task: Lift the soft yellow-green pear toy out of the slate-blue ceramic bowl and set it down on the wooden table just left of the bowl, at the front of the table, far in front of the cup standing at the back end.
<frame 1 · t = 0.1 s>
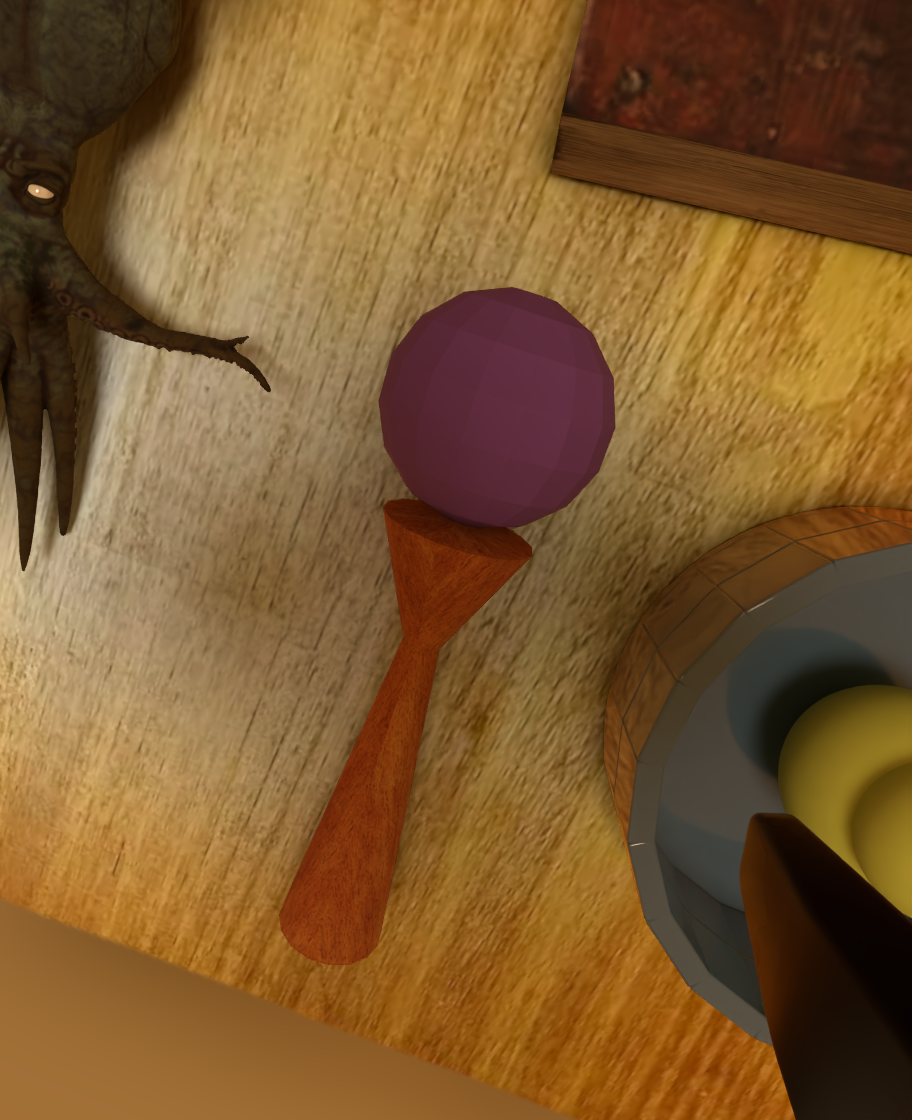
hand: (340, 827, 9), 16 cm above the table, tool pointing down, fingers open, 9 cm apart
pear toy: (843, 741, 24), point 1 cm above the table, touching bowl
figurine: (69, 274, 23), on the table, touching toy
bowl: (834, 733, 25), on the table
kendama: (427, 624, 25), on the table
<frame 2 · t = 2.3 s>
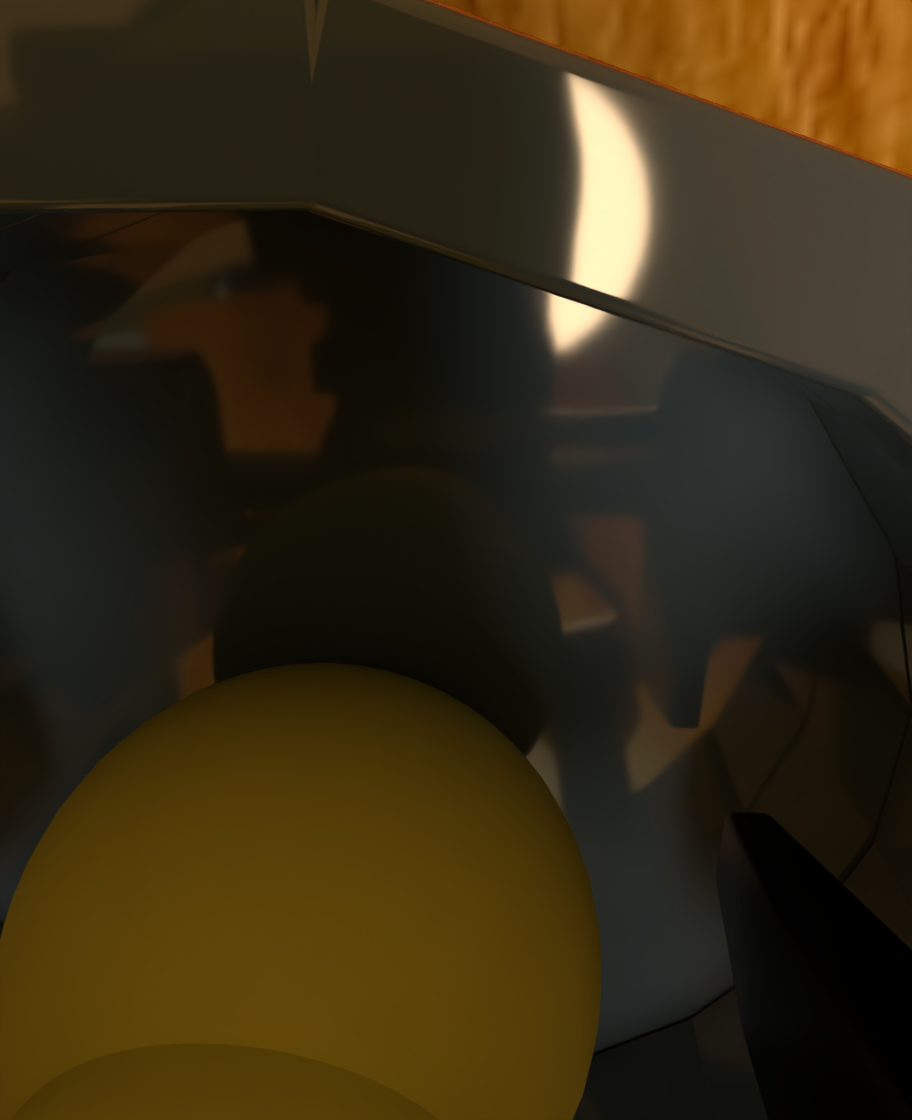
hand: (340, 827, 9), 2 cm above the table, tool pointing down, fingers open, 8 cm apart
pear toy: (362, 759, 10), point 1 cm above the table, touching bowl
bowl: (370, 729, 10), on the table
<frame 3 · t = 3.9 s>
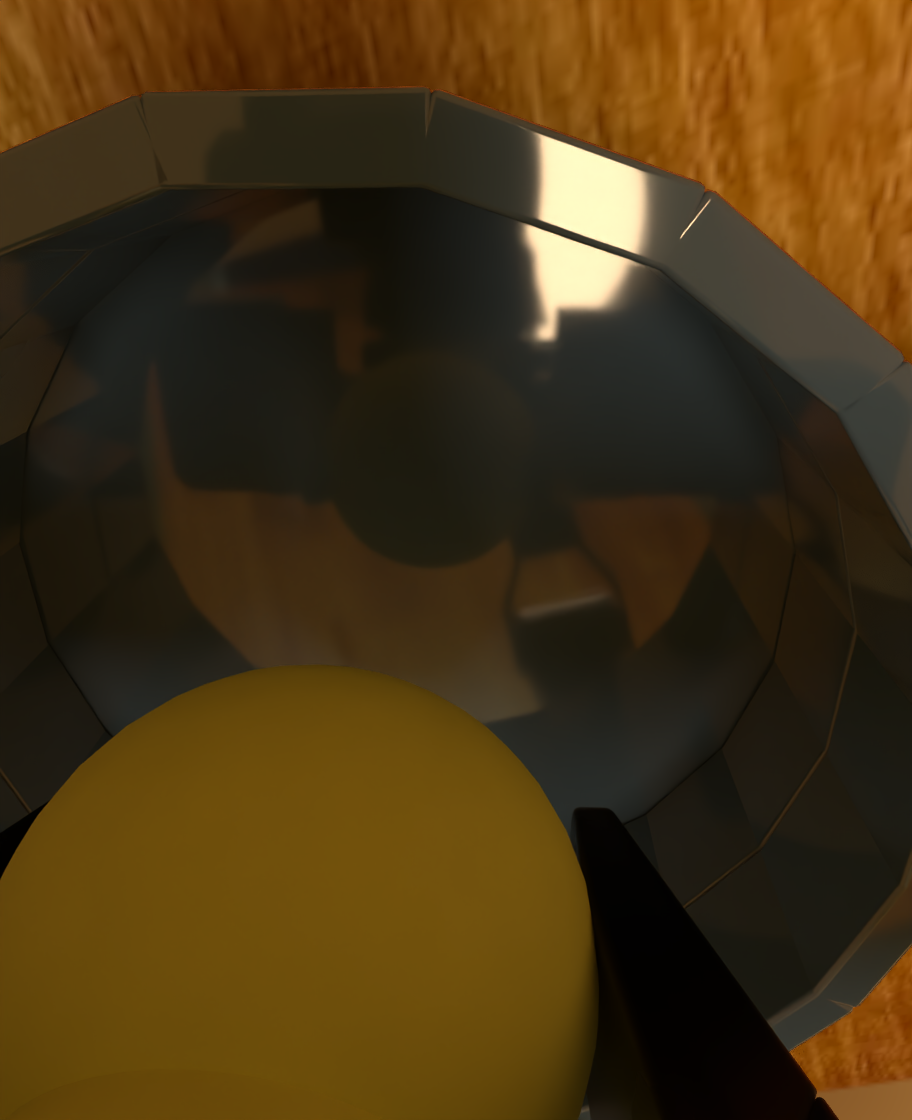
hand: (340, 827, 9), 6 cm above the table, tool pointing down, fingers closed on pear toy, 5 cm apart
pear toy: (355, 762, 10), point 5 cm above the table, touching gripper
bowl: (404, 583, 14), on the table
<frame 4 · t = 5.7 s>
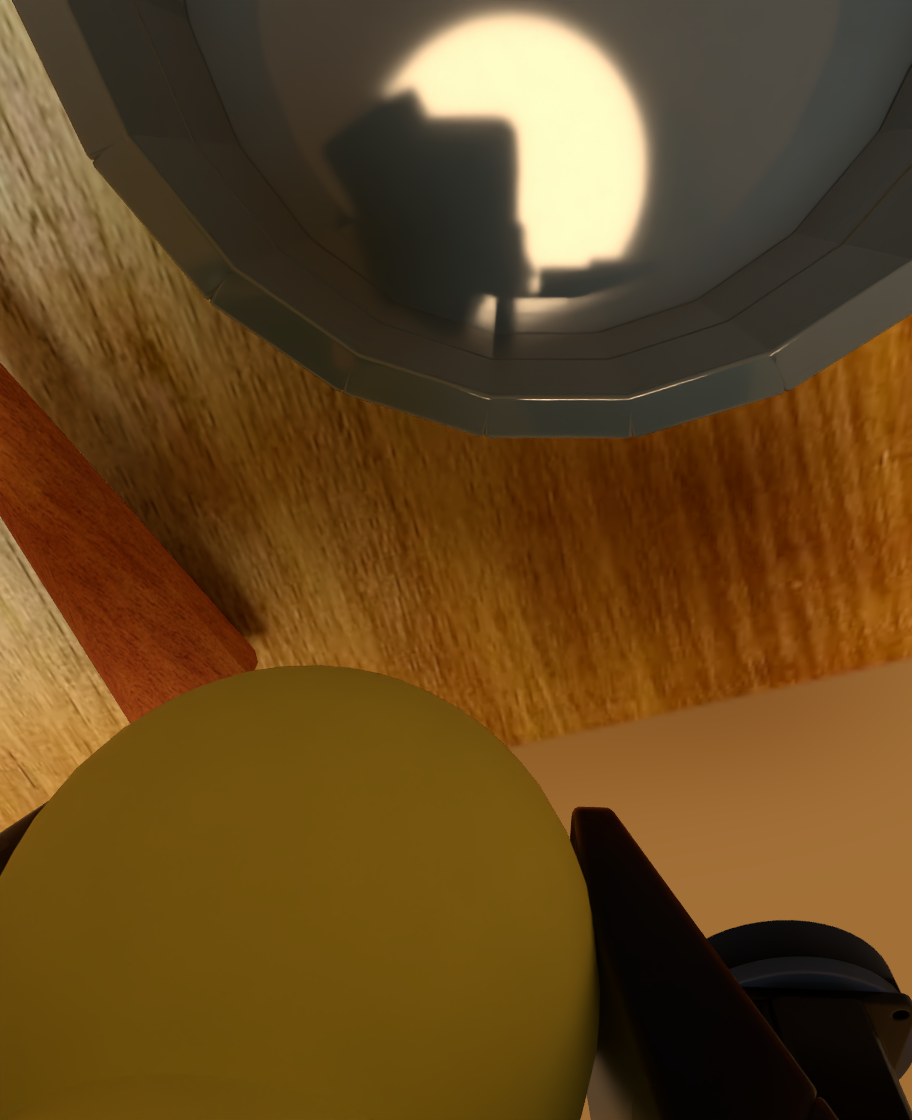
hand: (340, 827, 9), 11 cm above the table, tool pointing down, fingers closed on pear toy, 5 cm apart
pear toy: (354, 763, 10), point 10 cm above the table, touching gripper
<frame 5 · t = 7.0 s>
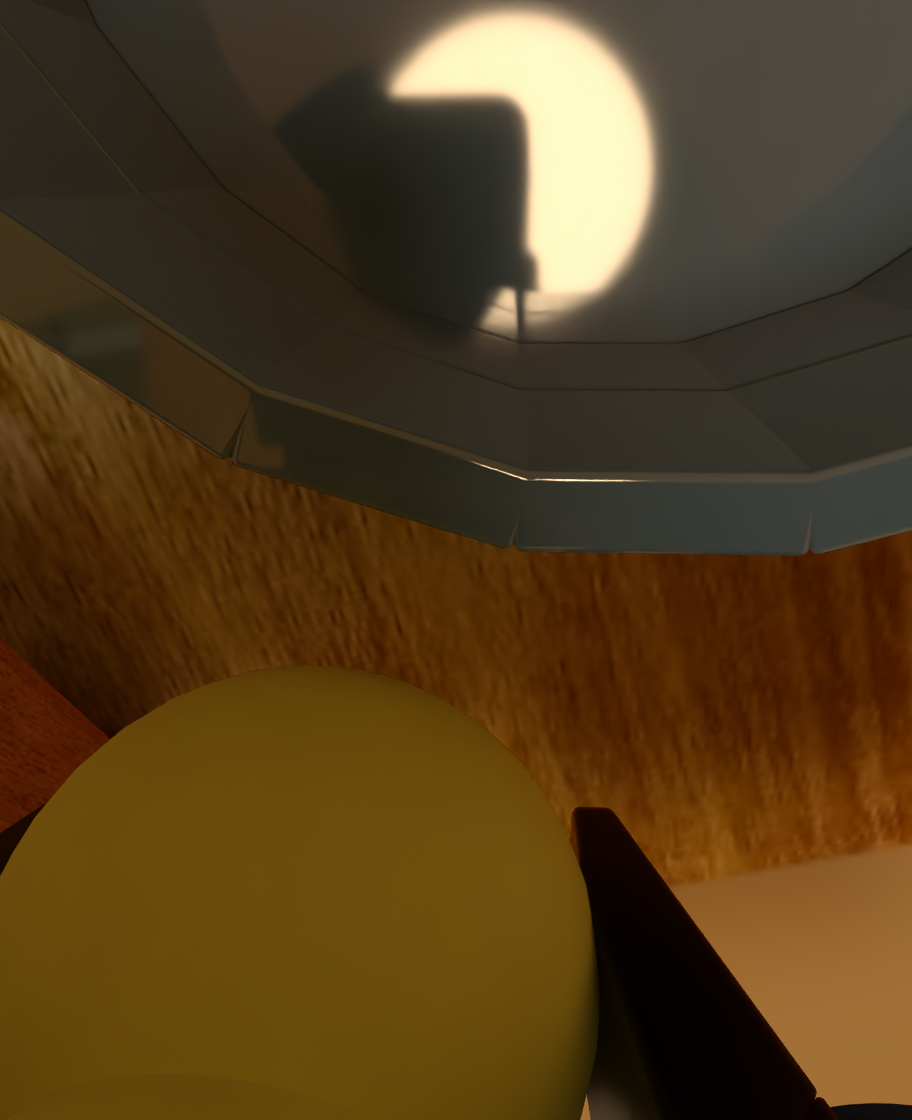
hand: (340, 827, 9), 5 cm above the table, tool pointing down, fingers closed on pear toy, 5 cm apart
pear toy: (354, 763, 10), point 4 cm above the table, touching gripper
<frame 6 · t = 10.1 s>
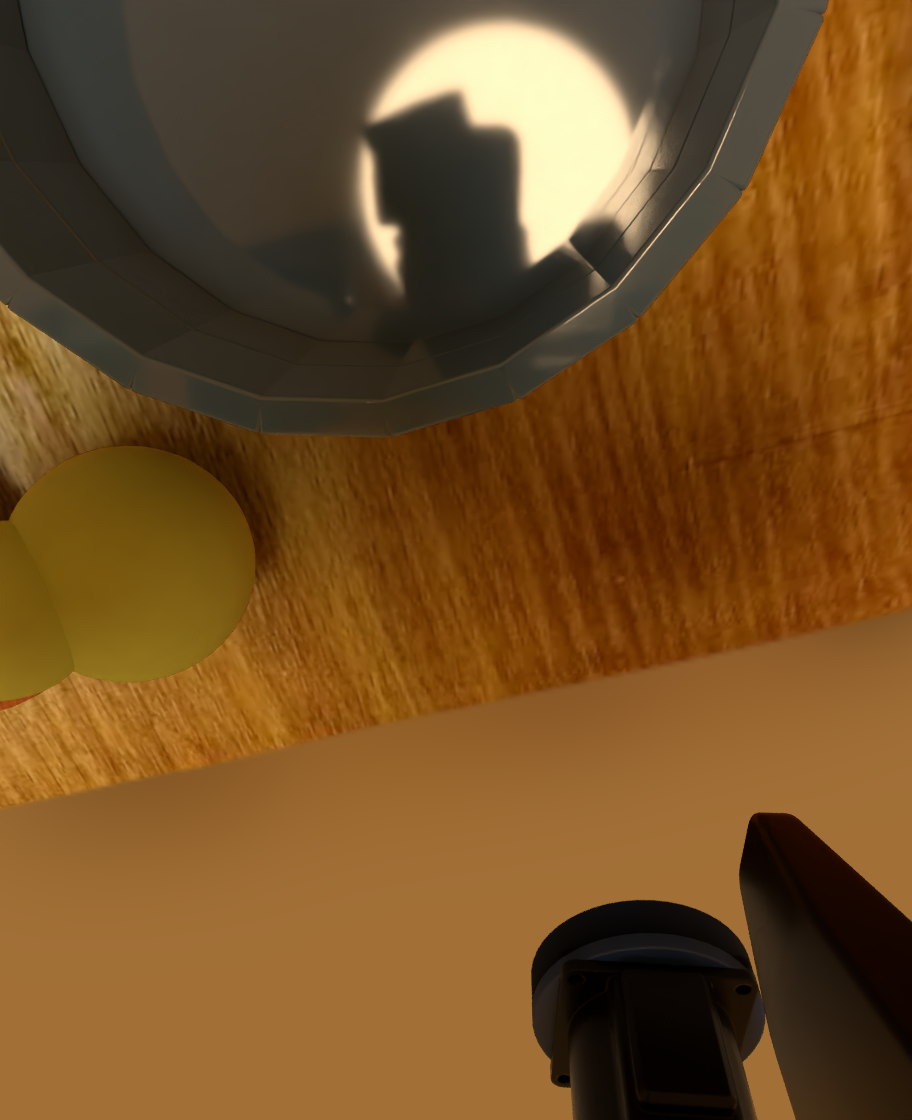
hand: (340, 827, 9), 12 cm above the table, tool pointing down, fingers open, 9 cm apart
pear toy: (242, 525, 19), point 1 cm above the table, tilted 48°, touching kendama
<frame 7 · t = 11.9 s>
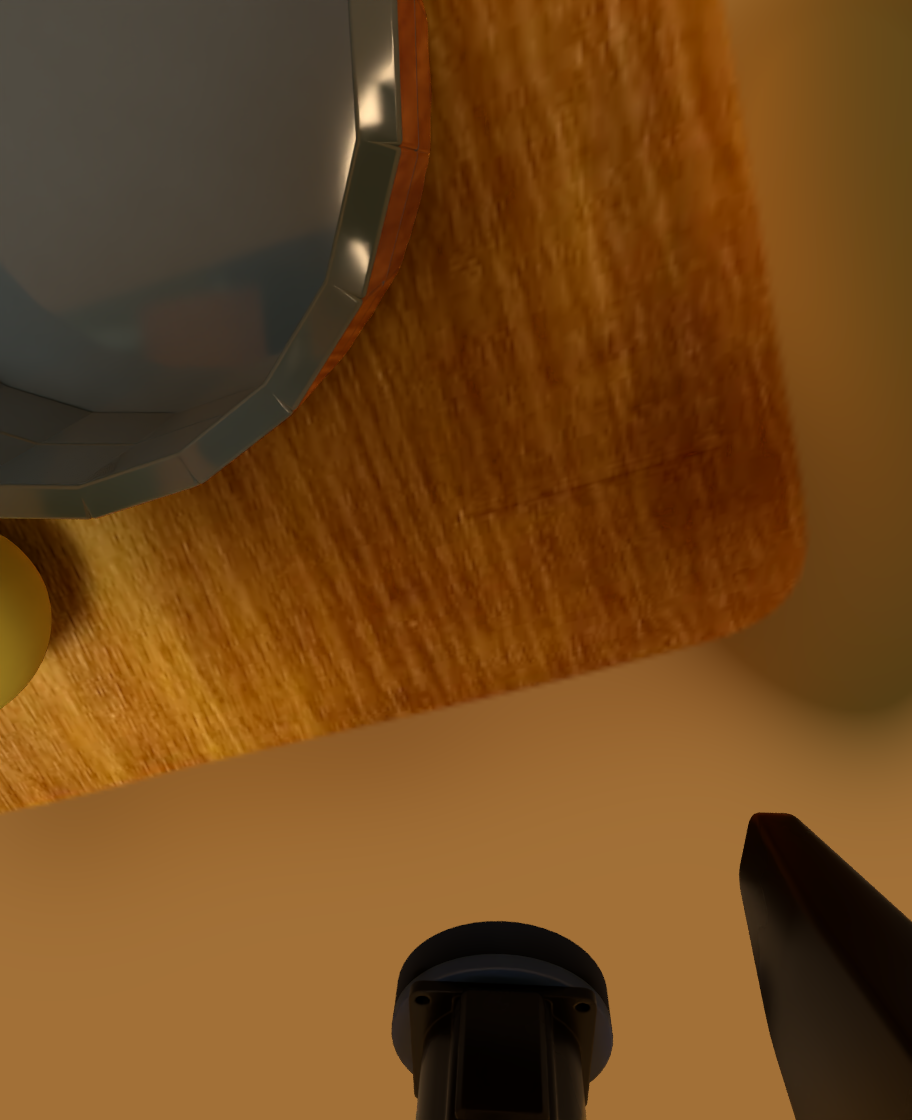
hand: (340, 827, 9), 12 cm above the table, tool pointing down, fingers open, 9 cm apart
pear toy: (43, 582, 21), point 1 cm above the table, tilted 48°
bowl: (88, 98, 16), on the table
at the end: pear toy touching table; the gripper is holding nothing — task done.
